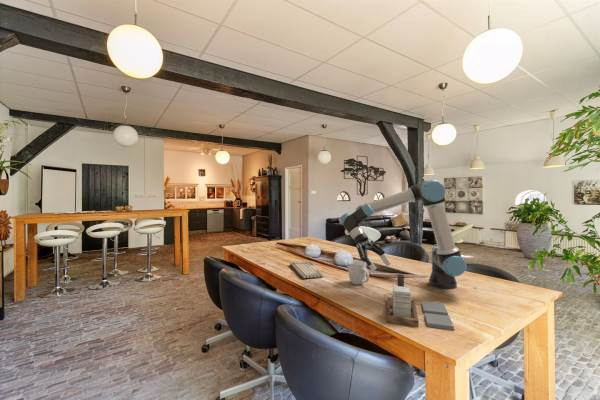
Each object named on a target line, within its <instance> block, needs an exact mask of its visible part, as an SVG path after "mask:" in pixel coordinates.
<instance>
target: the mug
mask: <svg viewBox="0 0 600 400" xmlns="http://www.w3.org/2000/svg"><path fill="white" fill-rule="evenodd" d="M347 263H348V264H347V265H348V266H347V269H348V271H347V273H348V276H349V277H348V278H349V280H350V283H352V284H353V285H355V286H360V285H361V286H362V285H363V284H364V283H367V282H369V280H370V273H369V270H368V269H367V263H366V262H365V261H364V262H363V261H362V260H357V259H356V260H355V259H353V260H349V261H348V262H347ZM365 279H366V280H365Z"/></svg>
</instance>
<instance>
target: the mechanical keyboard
mask: <svg viewBox="0 0 600 400" xmlns="http://www.w3.org/2000/svg"><path fill="white" fill-rule="evenodd" d="M288 268H289V269H290V270H291V271H292V272H293V273H294V274H295V275H296V276H297V277H298V279H300V280H302V281H304V280H306V281H307V280H315V279H322V278H324V275H323V273H322V272H320V270H319V269H318V268H317V267H315V265H314V264H313V262H312V261H310V260H308V261H296V262H295V261H292V262H290V263H289V265H288Z"/></svg>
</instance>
